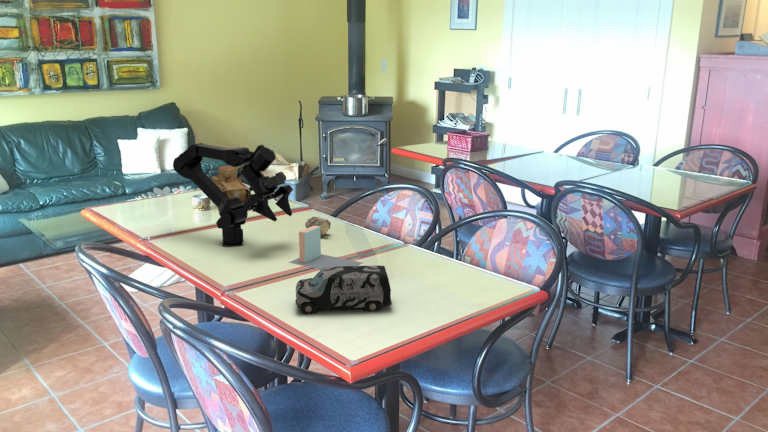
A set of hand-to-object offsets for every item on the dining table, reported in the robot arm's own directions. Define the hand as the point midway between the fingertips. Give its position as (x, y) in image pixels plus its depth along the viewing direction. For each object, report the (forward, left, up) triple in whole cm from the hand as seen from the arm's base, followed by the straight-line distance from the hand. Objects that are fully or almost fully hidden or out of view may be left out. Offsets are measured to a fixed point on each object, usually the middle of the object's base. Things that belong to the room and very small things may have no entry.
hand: (283, 218), depth 204 cm
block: (+7, -7, -12) cm, 16 cm away
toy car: (+11, -45, -13) cm, 48 cm away
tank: (-17, +76, -13) cm, 78 cm away
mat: (+12, -12, -12) cm, 21 cm away
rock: (+13, +20, -13) cm, 27 cm away
